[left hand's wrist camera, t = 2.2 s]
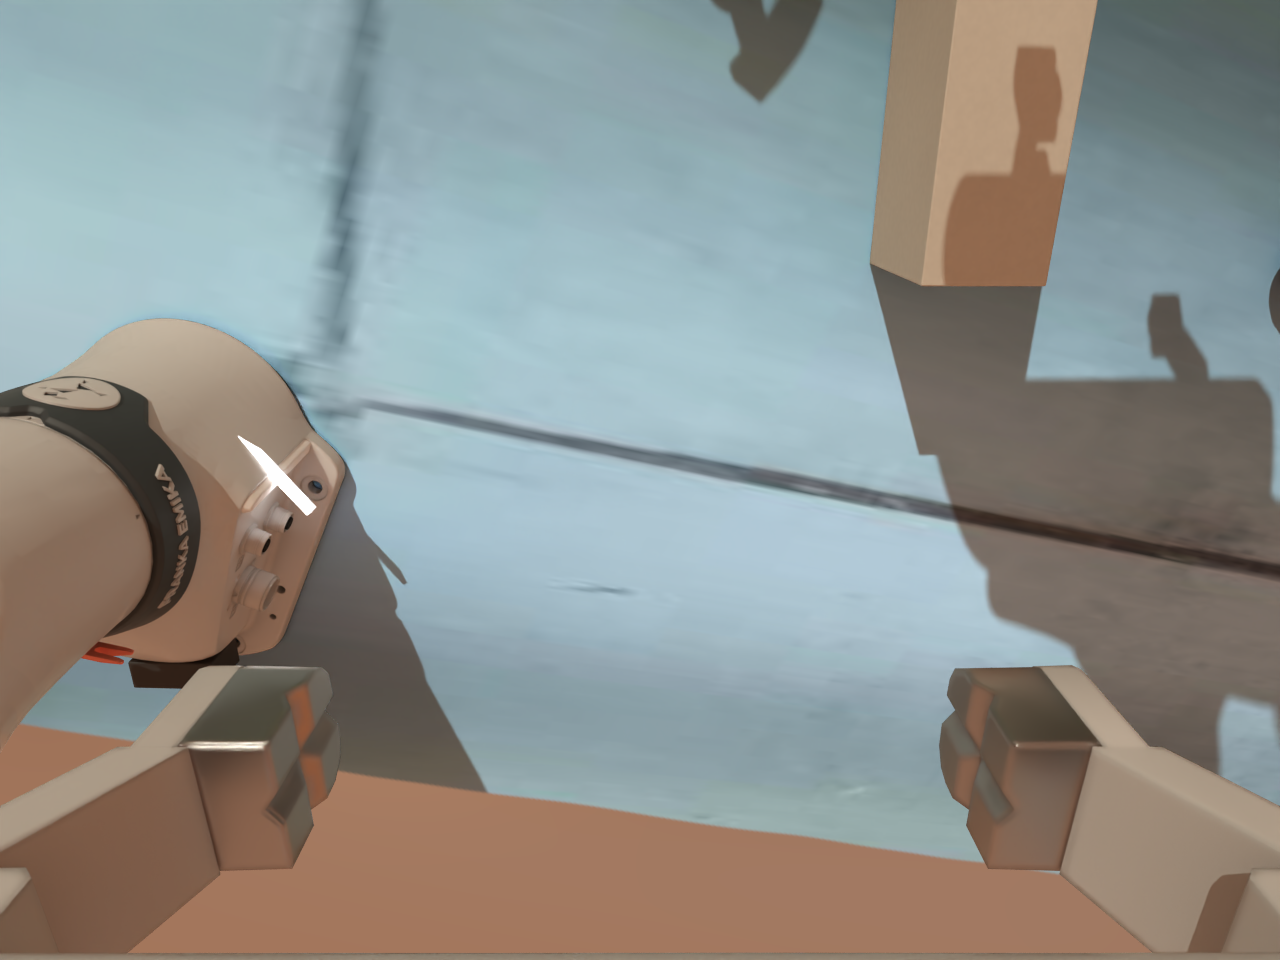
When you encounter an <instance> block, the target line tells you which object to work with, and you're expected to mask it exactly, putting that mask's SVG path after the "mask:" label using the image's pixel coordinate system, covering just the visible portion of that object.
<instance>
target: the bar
mask: <svg viewBox="0 0 1280 960" xmlns="http://www.w3.org/2000/svg"><path fill="white" fill-rule="evenodd" d="M1097 1H1098V0H896V10H895V20H894V30H893V40H892V49H891V59H890V69H889V79H888V89H887V99H886V109H885V118H884V128H883V138H882V148H881V158H880V168H879V177H878V187H877V197H876V207H875V217H874V227H873V236H872V246H871V256H870V264H872V265H874V266H877V267H879V268H881V269H884V270H886V271H888V272H891V273H893V274H895V275H897V276H900V277H902V278H904V279H907V280H909V281H911V282H914V283H916V284H918V285H920V286H1045V285H1046V281H1047V276H1048V270H1049V265H1050V259H1051V254H1052V248H1053V243H1054V237H1055V232H1056V226H1057V221H1058V215H1059V210H1060V204H1061V199H1062V193H1063V188H1064V182H1065V177H1066V171H1067V166H1068V160H1069V155H1070V149H1071V144H1072V138H1073V133H1074V127H1075V122H1076V116H1077V111H1078V105H1079V100H1080V94H1081V89H1082V83H1083V78H1084V72H1085V67H1086V61H1087V56H1088V50H1089V45H1090V39H1091V34H1092V28H1093V23H1094V17H1095V12H1096V6H1097Z"/></svg>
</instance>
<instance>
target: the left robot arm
mask: <svg viewBox="0 0 1280 960" xmlns="http://www.w3.org/2000/svg"><path fill="white" fill-rule="evenodd" d="M344 476H345V465H344V462H343V460H342V458H341V457H340V456H339V454H338V453H337V452H336V451H335V450H334V449H333V448H332V447H331V446H330V445H329V444H328V443H327V442H326V441H325V440H324V439H323V438H322V437H320V436H319V435H318V434H317V433H316V432H315V431H314V430H312V428H311V427H310V425H309V424H308V422H307V421H306V419H305V417H304V415H303V413H302V411H301V409H300V408H299V406H298V404H297V402H296V400H295V398H294V396H293V394H292V393H291V391H290V389H289V388H288V387H287V385H286V384H285V382H284V381H283V380H282V378H281V377H280V376H279V375H278V373H277V372H276V371H275V370H274V369H273V368H272V367H271V366H270V365H269V364H268V363H267V362H266V361H265V360H264V359H263V358H262V357H261V356H260V355H258V354H257V353H256V352H255V351H253V350H252V349H251V348H250V347H248V346H247V345H245V344H244V343H242V342H241V341H239V340H237V339H235V338H234V337H232V336H230V335H228V334H226V333H224V332H222V331H220V330H217V329H215V328H212V327H209V326H207V325H203V324H200V323H196V322H192V321H187V320H180V319H169V318H159V319H148V320H142V321H137V322H133V323H130V324H127V325H124V326H122V327H119V328H117V329H115V330H113V331H112V332H110V333H108V334H107V335H105V336H104V337H102V338H101V339H100V340H99V341H97V342H96V343H95V344H94V345H93V346H92V347H91V348H90V349H89V350H88V351H86V352H85V353H84V354H83V355H82V356H80V357H79V358H78V359H76V360H75V361H74V362H72V363H71V364H69V365H68V366H66V367H65V368H63V369H62V370H60V371H59V372H57V373H56V374H54V375H53V376H50V377H48V378H46V379H43V380H42V381H40V382H36V383H32V384H28V385H24V386H21V387H17V388H14V389H11V390H8V391H5V392H2V393H0V752H1V751H2V749H3V747H4V746H5V744H6V743H7V741H8V739H9V738H10V736H11V735H12V733H13V731H14V730H15V729H16V727H17V726H18V725H19V724H20V722H21V721H22V720H23V718H24V717H25V716H26V714H27V713H28V712H29V711H30V710H31V709H32V707H33V706H34V705H35V704H36V703H37V702H38V701H39V700H40V699H41V698H42V697H43V696H44V695H45V694H46V693H47V692H48V691H49V690H50V689H51V687H52V686H53V685H54V684H55V683H56V682H57V681H58V680H59V679H60V678H61V677H62V676H63V675H64V674H65V673H66V672H67V671H68V670H69V669H70V668H71V667H72V666H73V665H74V664H75V663H76V662H77V661H78V660H80V659H81V658H83V659H88V660H93V661H97V662H103V663H113V664H123V663H124V660H122V659H120V658H117V657H114V656H124V657H129V658H132V659H131V660H130V661H129V663H128V664H129V668H130V672H131V676H132V680H133V684H134V687H136V688H179V689H181V690H180V691H179V692H178V693H177V695H176V696H175V697H174V698H173V699H172V700H171V701H170V703H169V704H168V705H167V706H166V707H165V708H164V709H163V710H162V712H161V713H160V714H159V715H158V716H157V717H156V718H155V720H154V721H153V722H152V723H151V724H150V725H149V726H148V727H147V729H146V730H145V731H144V732H143V733H142V734H141V735H140V737H139V738H138V739H137V740H136V741H135V742H134V743H133V744H132V746H131V747H117V748H115V749H113V750H111V751H109V752H107V753H105V754H103V755H101V756H99V757H97V758H95V759H93V760H91V761H89V762H87V763H85V764H83V765H81V766H79V767H77V768H75V769H73V770H71V771H69V772H67V773H65V774H63V775H61V776H59V777H57V778H55V779H53V780H51V781H49V782H47V783H45V784H43V785H41V786H39V787H37V788H35V789H33V790H31V791H29V792H27V793H25V794H23V795H21V796H19V797H17V798H15V799H13V800H11V801H9V802H7V803H5V804H3V805H1V806H0V960H1280V806H1278V805H1276V804H1274V803H1272V802H1270V801H1268V800H1266V799H1264V798H1262V797H1260V796H1258V795H1256V794H1254V793H1253V792H1251V791H1249V790H1247V789H1245V788H1243V787H1241V786H1239V785H1237V784H1235V783H1233V782H1231V781H1229V780H1227V779H1225V778H1223V777H1221V776H1219V775H1217V774H1215V773H1213V772H1211V771H1209V770H1207V769H1205V768H1203V767H1201V766H1199V765H1197V764H1195V763H1193V762H1191V761H1189V760H1187V759H1185V758H1183V757H1181V756H1179V755H1177V754H1175V753H1173V752H1171V751H1169V750H1167V749H1165V748H1163V747H1149V746H1148V744H1147V743H1146V742H1145V741H1144V740H1143V739H1142V738H1141V737H1140V735H1139V734H1138V733H1137V732H1136V731H1135V730H1134V729H1133V727H1132V726H1131V725H1130V724H1129V723H1128V722H1127V721H1126V720H1125V718H1124V717H1123V716H1122V715H1121V714H1120V713H1119V712H1118V710H1117V709H1116V708H1115V707H1114V706H1113V705H1112V704H1111V703H1110V701H1109V700H1108V699H1107V698H1106V697H1105V696H1104V695H1103V693H1102V692H1101V691H1100V690H1099V689H1098V688H1097V687H1096V686H1095V684H1094V683H1093V682H1092V681H1091V680H1090V679H1089V678H1088V676H1087V675H1086V674H1085V673H1084V672H1083V671H1082V670H1081V669H1079V668H1077V667H1075V666H1073V665H1060V666H1033V667H1015V668H955V669H954V671H953V673H952V675H951V677H950V681H949V686H948V691H947V696H948V698H949V700H950V702H951V703H952V705H953V707H954V709H955V711H954V712H953V713H952V714H951V715H950V716H949V717H948V718H947V719H946V720H945V721H944V722H943V723H942V727H941V735H940V743H939V749H940V761H941V769H942V772H943V776H944V779H945V783H946V785H947V787H948V789H949V791H950V793H951V795H952V798H953V799H955V800H956V801H958V802H959V803H960V804H962V805H963V806H965V807H966V808H967V809H969V813H968V818H967V824H966V826H967V828H968V830H969V832H970V834H971V836H972V838H973V840H974V842H975V844H976V846H977V848H978V850H979V852H980V854H981V856H982V858H983V860H984V862H985V864H986V866H987V868H988V869H1015V870H1050V871H1060V875H1061V876H1062V877H1064V878H1065V879H1066V880H1067V881H1068V882H1069V883H1071V884H1072V885H1073V886H1074V887H1075V888H1077V889H1078V890H1079V891H1080V892H1081V893H1082V894H1084V895H1085V896H1086V897H1087V898H1088V899H1090V900H1091V901H1092V902H1093V903H1094V904H1096V905H1097V906H1098V907H1099V908H1100V909H1101V910H1103V911H1104V912H1105V913H1106V914H1107V915H1109V916H1110V917H1111V918H1112V919H1113V920H1114V921H1116V922H1117V923H1118V924H1119V925H1120V926H1122V927H1123V928H1124V929H1125V930H1126V931H1127V932H1129V933H1130V934H1131V935H1132V936H1133V937H1135V938H1136V939H1137V940H1138V941H1139V942H1140V943H1142V944H1143V945H1144V946H1145V947H1146V948H1148V949H1149V950H1150V951H1151V952H1152V953H128V952H129V951H130V950H131V949H133V948H134V947H135V946H136V945H137V944H139V943H140V942H141V941H142V940H143V939H145V938H146V937H147V936H148V935H149V934H150V933H152V932H153V931H154V930H155V929H156V928H158V927H159V926H160V925H161V924H162V923H163V922H165V921H166V920H167V919H168V918H169V917H171V916H172V915H173V914H174V913H175V912H177V911H178V910H179V909H180V908H181V907H182V906H184V905H185V904H186V903H187V902H188V901H190V900H191V899H192V898H193V897H194V896H195V895H197V894H198V893H199V892H200V891H201V890H203V889H204V888H205V887H206V886H207V885H209V884H210V883H211V882H212V881H213V880H215V879H216V878H217V877H218V876H219V875H220V871H229V870H263V869H292V868H293V866H294V864H295V862H296V860H297V858H298V856H299V854H300V852H301V850H302V848H303V846H304V844H305V842H306V840H307V838H308V836H309V834H310V832H311V830H312V828H313V826H314V824H313V819H312V813H311V809H313V808H314V807H315V806H317V805H318V804H320V803H321V802H322V801H324V800H325V799H327V797H328V795H329V793H330V791H331V789H332V787H333V785H334V782H335V780H336V775H337V771H338V766H339V762H340V733H339V727H338V723H337V722H336V721H335V720H334V719H333V718H332V717H331V716H330V715H329V714H328V713H327V712H326V711H325V709H326V707H327V705H328V703H329V702H330V700H331V698H332V696H333V692H332V687H331V682H330V678H329V673H327V672H326V671H325V670H324V669H323V668H322V667H280V666H246V667H245V666H235V665H236V664H237V663H238V662H239V655H247V654H253V653H258V652H262V651H265V650H268V649H271V648H273V647H274V646H275V645H276V644H277V643H278V642H280V641H281V639H282V638H283V636H284V634H285V631H286V629H287V626H288V624H289V621H290V619H291V616H292V613H293V611H294V608H295V605H296V603H297V600H298V597H299V595H300V592H301V590H302V587H303V584H304V582H305V579H306V576H307V574H308V571H309V568H310V566H311V563H312V561H313V558H314V555H315V553H316V550H317V547H318V545H319V542H320V539H321V537H322V534H323V531H324V529H325V526H326V524H327V521H328V518H329V516H330V513H331V510H332V508H333V505H334V502H335V500H336V497H337V495H338V492H339V489H340V487H341V484H342V481H343V479H344ZM312 481H317V482H319V483H320V484H321V485H322V489H317V488H315V487H314V485H313V483H312ZM236 638H237V639H238V640H239V641H240V642H237V641H236Z"/></svg>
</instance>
